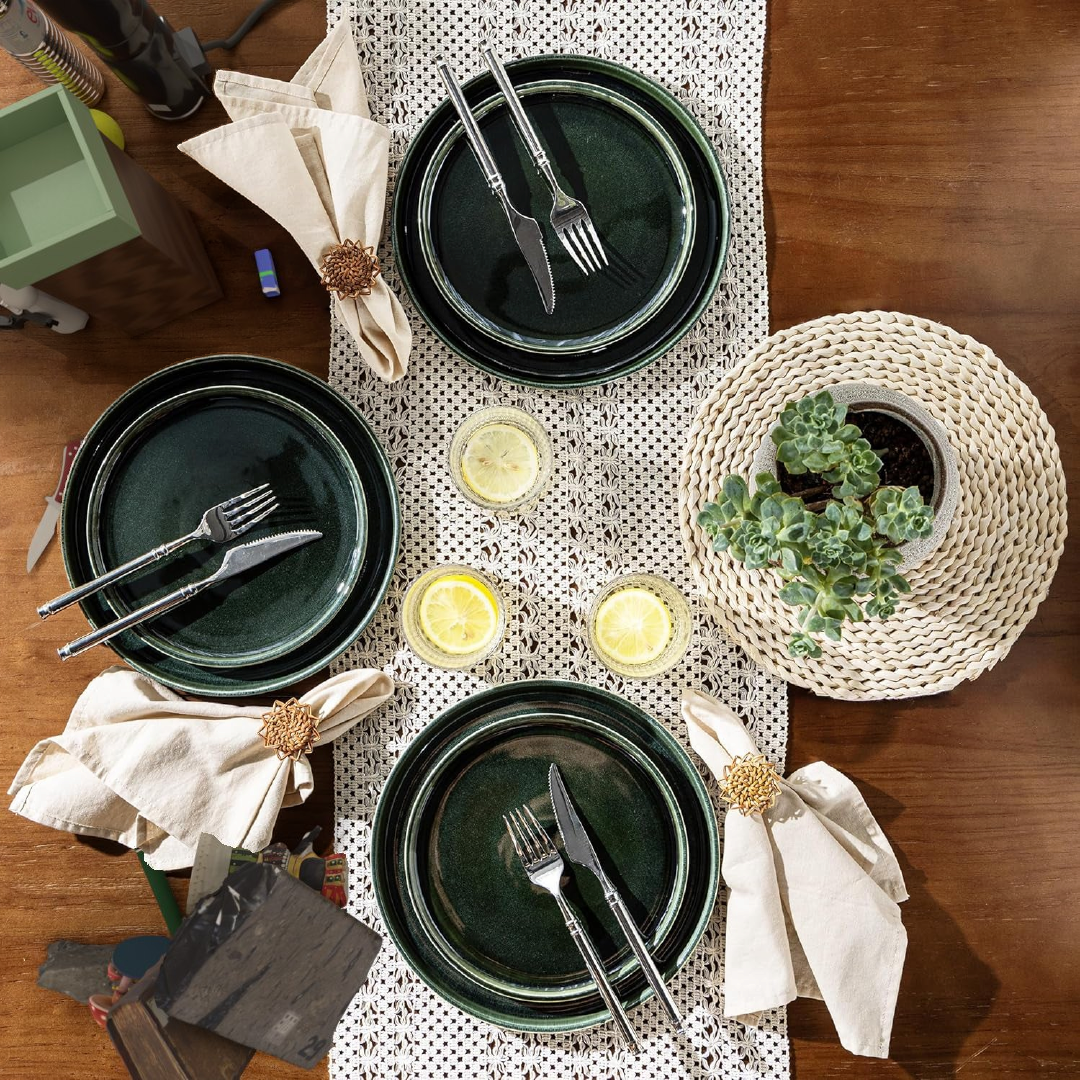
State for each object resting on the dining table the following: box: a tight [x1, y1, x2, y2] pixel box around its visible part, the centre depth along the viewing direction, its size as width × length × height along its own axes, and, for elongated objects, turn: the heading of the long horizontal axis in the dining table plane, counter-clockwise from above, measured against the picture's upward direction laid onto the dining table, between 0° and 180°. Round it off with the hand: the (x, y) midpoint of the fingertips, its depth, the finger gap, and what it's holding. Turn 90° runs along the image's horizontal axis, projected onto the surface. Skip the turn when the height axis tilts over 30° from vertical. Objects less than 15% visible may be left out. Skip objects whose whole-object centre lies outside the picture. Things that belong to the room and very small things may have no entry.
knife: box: [26, 440, 84, 575], centre depth 114 cm, size 20×1×3 cm
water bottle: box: [0, 0, 106, 109], centre depth 103 cm, size 7×7×25 cm
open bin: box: [0, 82, 142, 290], centre depth 88 cm, size 16×16×5 cm
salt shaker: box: [0, 283, 90, 334], centre depth 108 cm, size 6×6×13 cm
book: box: [105, 953, 257, 1080], centre depth 101 cm, size 17×7×25 cm, turn 25°
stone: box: [35, 939, 134, 1006], centre depth 110 cm, size 18×9×10 cm
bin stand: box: [30, 128, 225, 337], centre depth 102 cm, size 14×14×24 cm
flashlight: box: [134, 848, 187, 938], centre depth 112 cm, size 5×5×20 cm
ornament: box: [89, 108, 125, 151], centre depth 110 cm, size 7×7×10 cm
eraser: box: [254, 248, 281, 298], centre depth 113 cm, size 2×6×2 cm
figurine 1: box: [88, 934, 172, 1029], centre depth 106 cm, size 12×9×8 cm
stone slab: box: [154, 862, 384, 1072], centre depth 101 cm, size 18×9×30 cm
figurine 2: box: [185, 825, 350, 915], centre depth 109 cm, size 12×15×20 cm
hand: (59, 310), depth 107 cm, fingers closed on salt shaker, 3 cm apart
